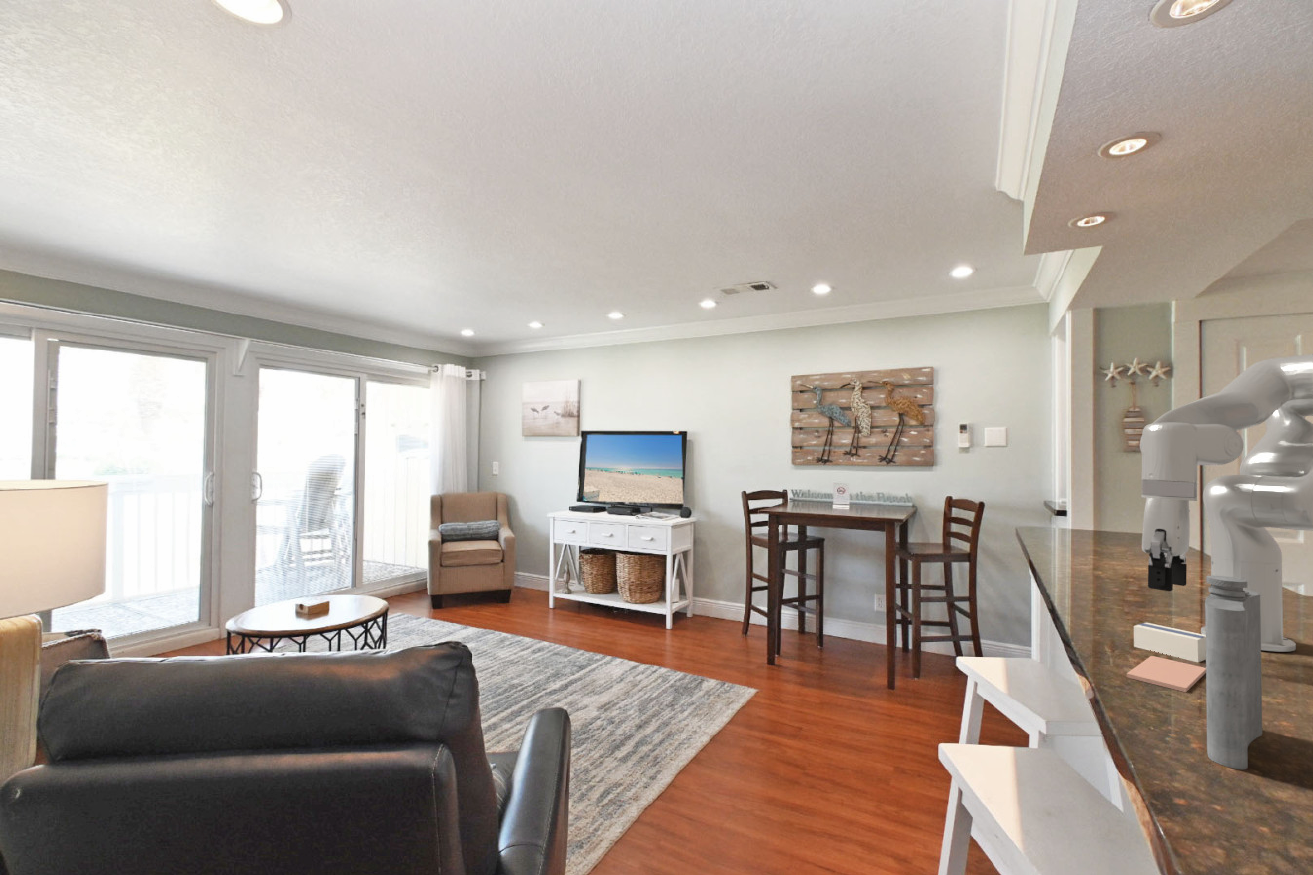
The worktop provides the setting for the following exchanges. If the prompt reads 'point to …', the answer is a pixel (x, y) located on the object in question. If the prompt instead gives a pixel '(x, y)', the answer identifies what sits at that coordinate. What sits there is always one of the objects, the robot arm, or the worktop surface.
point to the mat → (1167, 673)
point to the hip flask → (1232, 670)
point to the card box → (1170, 641)
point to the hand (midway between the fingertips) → (1167, 586)
